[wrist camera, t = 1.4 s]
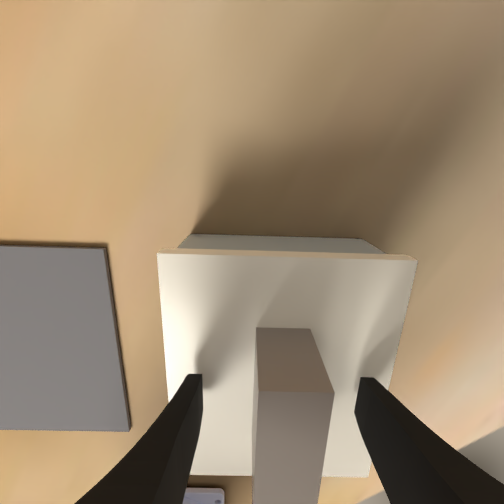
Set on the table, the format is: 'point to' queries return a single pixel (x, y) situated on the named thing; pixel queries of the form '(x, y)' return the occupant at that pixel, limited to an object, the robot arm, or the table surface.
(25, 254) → the mat
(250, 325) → the lid
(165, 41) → the table surface
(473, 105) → the table surface
